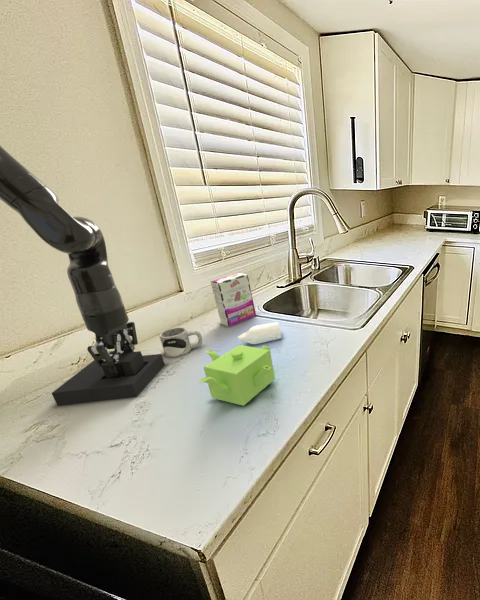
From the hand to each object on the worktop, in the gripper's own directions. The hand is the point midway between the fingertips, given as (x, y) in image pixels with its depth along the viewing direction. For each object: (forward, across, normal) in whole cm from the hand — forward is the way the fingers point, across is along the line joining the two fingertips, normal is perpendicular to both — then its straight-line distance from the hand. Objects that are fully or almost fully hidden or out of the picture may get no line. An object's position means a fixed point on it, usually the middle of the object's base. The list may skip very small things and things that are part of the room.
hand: (125, 370), depth 81 cm
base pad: (+4, 0, -3) cm, 5 cm away
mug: (+4, -15, +7) cm, 17 cm away
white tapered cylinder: (+4, -16, +28) cm, 32 cm away
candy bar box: (+4, -35, +17) cm, 39 cm away
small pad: (0, 0, 0) cm, 0 cm away
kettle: (+4, +10, +29) cm, 31 cm away
